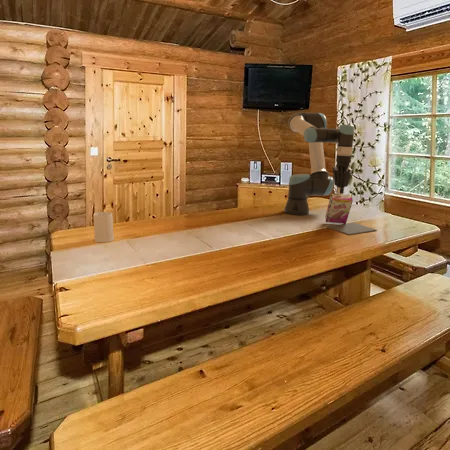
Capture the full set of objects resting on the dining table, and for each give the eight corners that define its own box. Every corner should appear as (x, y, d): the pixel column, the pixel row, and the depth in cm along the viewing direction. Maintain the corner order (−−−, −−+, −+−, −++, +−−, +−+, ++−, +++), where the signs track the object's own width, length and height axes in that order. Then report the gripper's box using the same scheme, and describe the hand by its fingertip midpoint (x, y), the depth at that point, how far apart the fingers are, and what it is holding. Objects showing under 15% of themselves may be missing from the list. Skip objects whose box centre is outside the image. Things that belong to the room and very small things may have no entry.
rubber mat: (326, 227, 210) (326, 226, 210) (353, 223, 220) (353, 222, 220) (348, 235, 197) (348, 233, 197) (376, 230, 206) (376, 229, 206)
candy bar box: (325, 222, 216) (331, 198, 206) (324, 217, 220) (330, 193, 209) (346, 224, 216) (353, 200, 205) (345, 218, 219) (351, 194, 209)
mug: (92, 236, 183) (91, 210, 180) (111, 234, 186) (110, 209, 183) (95, 243, 172) (93, 216, 169) (115, 241, 176) (114, 215, 173)
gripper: (329, 154, 211) (325, 197, 217) (347, 155, 200) (342, 201, 206) (340, 154, 215) (335, 197, 220) (358, 155, 204) (353, 200, 209)
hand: (339, 199), depth 213 cm, fingers closed
